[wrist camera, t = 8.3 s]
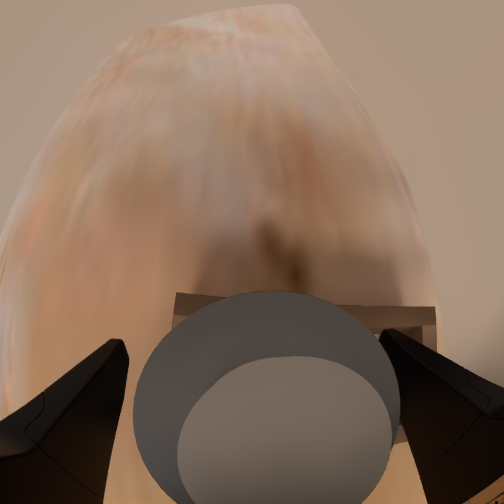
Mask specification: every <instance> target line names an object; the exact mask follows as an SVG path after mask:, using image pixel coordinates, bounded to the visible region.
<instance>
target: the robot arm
mask: <svg viewBox="0 0 504 504" xmlns="http://www.w3.org/2000/svg"><path fill="white" fill-rule="evenodd" d="M379 342H380V344H381V345H382V347H383V348H384V350H385V352H386V353H387V355H388V357H389V359H390V361H391V364H392V366H393V368H394V371H395V375H396V378H397V382H398V387H399V394H400V421H401V424H402V426H403V429H404V432H405V435H406V437H407V440H408V443H409V446H410V449H411V452H412V455H413V458H414V461H415V464H416V467H417V470H418V473H419V476H420V480H421V483H422V486H423V489H424V493H425V496H426V500H427V503H428V504H463V503H464V502H466V501H467V502H468V504H504V388H503V387H501V386H498V385H496V384H494V383H492V382H490V381H488V380H486V379H484V378H482V377H479V376H478V375H476V374H474V373H472V372H471V371H469V370H467V369H465V368H464V367H462V366H460V365H458V364H457V363H455V362H453V361H451V360H449V359H448V358H446V357H444V356H442V355H441V354H439V353H437V352H435V351H434V350H432V349H430V348H428V347H426V346H425V345H423V344H421V343H419V342H418V341H416V340H414V339H412V338H410V337H409V336H407V335H405V334H403V333H402V332H400V331H398V330H396V329H394V328H387V329H384V330H382V332H381V335H380V338H379ZM128 367H129V356H128V353H127V350H126V347H125V344H124V342H123V340H122V339H110V340H109V341H107V342H106V343H105V344H103V345H102V346H101V347H99V348H98V349H97V350H95V351H94V352H93V353H92V354H90V355H89V356H88V357H86V358H85V359H84V360H82V361H81V362H80V363H79V364H77V365H76V366H75V367H73V368H72V369H71V370H70V371H68V372H67V373H66V374H64V375H63V376H62V377H61V378H59V379H58V380H57V381H55V382H54V383H53V384H52V385H50V386H49V387H48V388H47V389H45V390H44V392H41V393H40V394H39V395H38V396H36V397H35V398H34V399H32V400H31V401H30V402H28V403H27V404H26V405H24V406H23V407H21V408H20V409H18V410H17V411H15V412H14V413H12V414H11V415H9V416H7V417H6V418H4V419H3V420H1V421H0V504H103V499H104V493H105V487H106V480H107V475H108V469H109V464H110V459H111V453H112V449H113V444H114V439H115V435H116V430H117V426H118V421H119V417H120V413H121V409H122V405H123V401H124V395H125V387H126V380H127V374H128Z"/></svg>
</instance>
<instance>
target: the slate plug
mask: <svg viewBox="0 0 504 504" xmlns="http://www.w3.org/2000/svg"><path fill="white" fill-rule="evenodd" d="M399 418H400V394H399V387H398V382H397V378H396V375H395V371H394V368H393V366H392V364H391V361H390V359H389V357H388V355H387V353H386V352H385V350H384V348H383V347H382V345H381V344H380V342H379V341H378V340H377V338H376V337H375V336H374V335H373V334H372V332H371V331H370V330H369V329H368V328H367V327H366V326H364V325H363V324H362V323H361V322H360V321H359V320H358V319H357V318H355V317H354V316H352V315H351V314H349V313H348V312H346V311H345V310H343V309H341V308H339V307H337V306H336V305H334V304H332V303H330V302H327V301H324V300H322V299H319V298H316V297H313V296H309V295H305V294H300V293H296V292H285V291H258V292H251V293H244V294H239V295H236V296H232V297H228V298H225V299H222V300H219V301H217V302H215V303H212V304H210V305H207V306H205V307H204V308H202V309H200V310H198V311H196V312H195V313H193V314H191V315H190V316H188V317H187V318H186V319H184V320H183V321H182V322H180V323H179V324H178V325H176V326H175V327H174V328H173V329H172V330H171V331H170V332H169V333H168V334H167V335H166V336H165V337H164V338H163V339H162V341H161V342H160V343H159V344H158V346H157V347H156V348H155V349H154V351H153V352H152V354H151V356H150V357H149V359H148V361H147V363H146V364H145V366H144V368H143V371H142V373H141V376H140V378H139V381H138V384H137V389H136V393H135V397H134V407H133V423H134V433H135V437H136V442H137V446H138V449H139V452H140V454H141V457H142V459H143V462H144V463H145V465H146V467H147V469H148V471H149V472H150V474H151V476H152V477H153V478H154V480H155V481H156V482H157V484H158V485H159V486H160V487H161V489H162V490H163V491H164V492H165V493H166V494H167V495H168V496H169V497H170V498H171V499H173V500H174V501H175V502H176V503H178V504H361V503H362V502H363V501H364V500H365V499H366V498H367V497H368V496H369V495H370V493H371V492H372V491H373V490H374V488H375V487H376V485H377V484H378V482H379V481H380V479H381V477H382V475H383V473H384V471H385V469H386V466H387V463H388V460H389V456H390V452H391V449H392V447H393V445H394V442H395V438H396V435H397V431H398V426H399Z"/></svg>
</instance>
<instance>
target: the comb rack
mask: <svg viewBox="0 0 504 504" xmlns="http://www.w3.org/2000/svg"><path fill="white" fill-rule="evenodd" d="M225 298H226V297H216V296H206V295H196V294H186V293H177V292H176V299H175V306H174V314H173V321H172V329H173V328H174V327H175V326H176V325H178V324H179V323H180V322H182V321H183V320H184V319H186V318H187V317H188V316H190V315H191V314H193V313H195V312H196V311H198V310H200V309H202V308H204V307H205V306H207V305H210V304H212V303H215V302H217V301H219V300H222V299H225ZM336 306H337V307H339V308H341V309H343V310H345V311H346V312H348V313H349V314H351V315H352V316H354V317H355V318H357V319H358V320H359V321H360V322H361V323H362V324H363V325H364V326H366V327H367V328H368V329H369V330H370V331H371V332H372V334H381V332H382V330H384V329H387V328H394V329H396V330H398V331H400V332H402V333H403V334H405V335H407V336H409V337H410V338H412V339H414V340H416V341H418V342H419V343H421V344H423V345H425V346H426V347H428V348H430V349H432V350H434V351H435V352H437V333H436V313H435V307H399V306H354V305H336ZM406 441H408V440H407V437H406V435H405V432H404V429H403V426H402V424H401V421H400V418H399V426H398V431H397V435H396V438H395V442H394V444H398V443H402V442H406Z"/></svg>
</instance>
